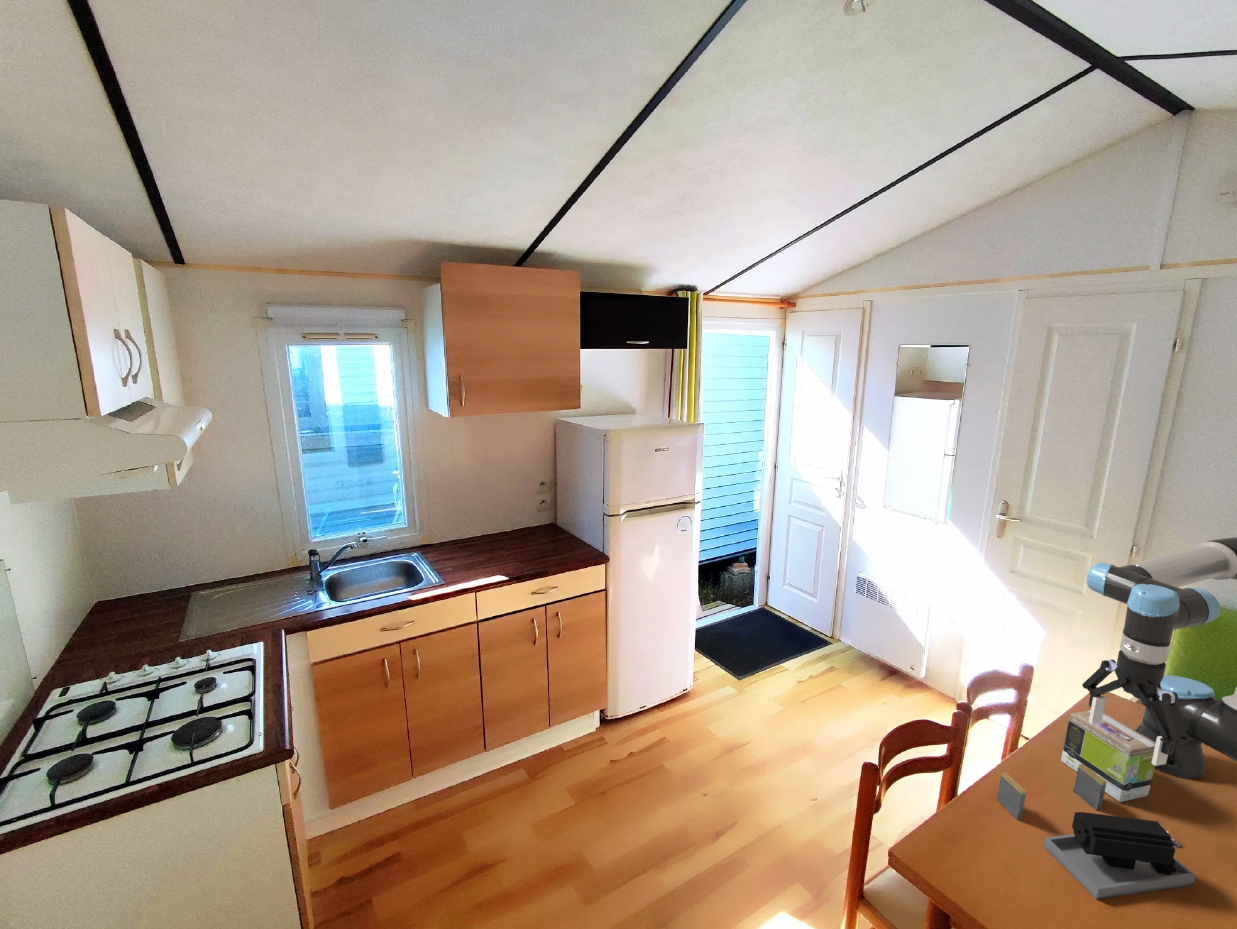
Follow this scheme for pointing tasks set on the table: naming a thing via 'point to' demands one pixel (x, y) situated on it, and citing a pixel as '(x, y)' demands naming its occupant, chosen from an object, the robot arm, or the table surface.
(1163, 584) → the robot arm
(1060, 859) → the tray
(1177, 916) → the table surface
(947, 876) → the table surface
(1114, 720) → the tea box
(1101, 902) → the table surface
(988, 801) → the table surface
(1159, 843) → the security camera
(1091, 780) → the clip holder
